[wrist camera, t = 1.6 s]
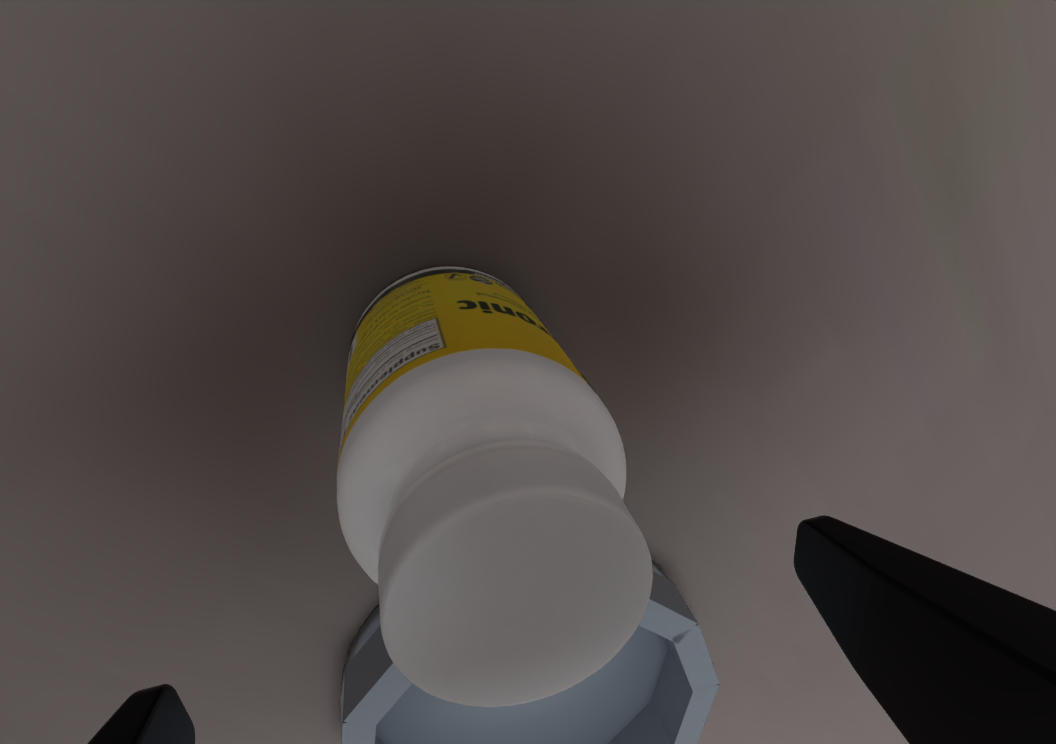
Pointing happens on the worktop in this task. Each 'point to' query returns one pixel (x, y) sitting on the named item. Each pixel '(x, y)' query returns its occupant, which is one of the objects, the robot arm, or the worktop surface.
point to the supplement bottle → (485, 494)
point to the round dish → (561, 719)
